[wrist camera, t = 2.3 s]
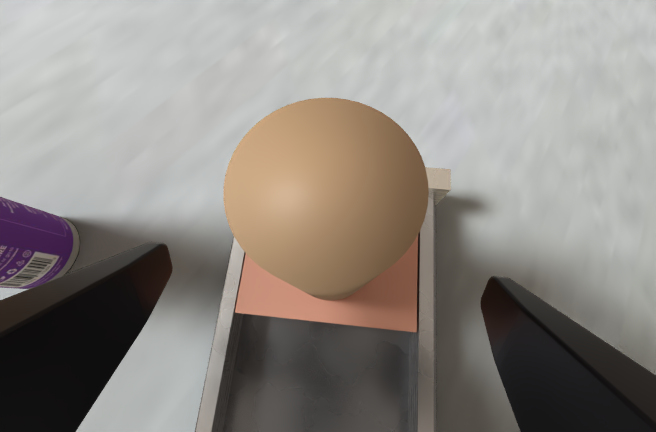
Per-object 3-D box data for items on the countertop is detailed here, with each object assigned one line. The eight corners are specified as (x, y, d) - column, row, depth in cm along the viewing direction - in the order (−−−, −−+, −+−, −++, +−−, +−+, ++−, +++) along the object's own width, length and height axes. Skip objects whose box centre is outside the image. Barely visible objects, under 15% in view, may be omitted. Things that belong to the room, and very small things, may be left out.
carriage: (405, 329, 16) (573, 379, 5) (247, 311, 16) (61, 320, 5) (408, 221, 18) (535, 74, 7) (265, 208, 18) (154, 48, 7)
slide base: (429, 625, 13) (461, 729, 10) (172, 585, 14) (121, 671, 11) (430, 193, 20) (450, 169, 16) (250, 177, 20) (234, 151, 17)
